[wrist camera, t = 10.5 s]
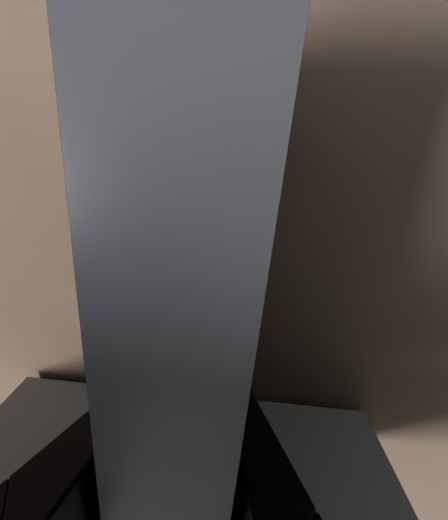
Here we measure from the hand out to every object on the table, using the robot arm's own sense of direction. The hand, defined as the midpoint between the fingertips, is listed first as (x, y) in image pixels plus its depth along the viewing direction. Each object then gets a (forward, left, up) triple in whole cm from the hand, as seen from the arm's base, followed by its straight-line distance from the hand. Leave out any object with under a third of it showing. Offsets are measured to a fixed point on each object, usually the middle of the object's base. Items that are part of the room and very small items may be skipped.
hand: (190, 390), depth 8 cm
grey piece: (0, -3, -2) cm, 3 cm away
